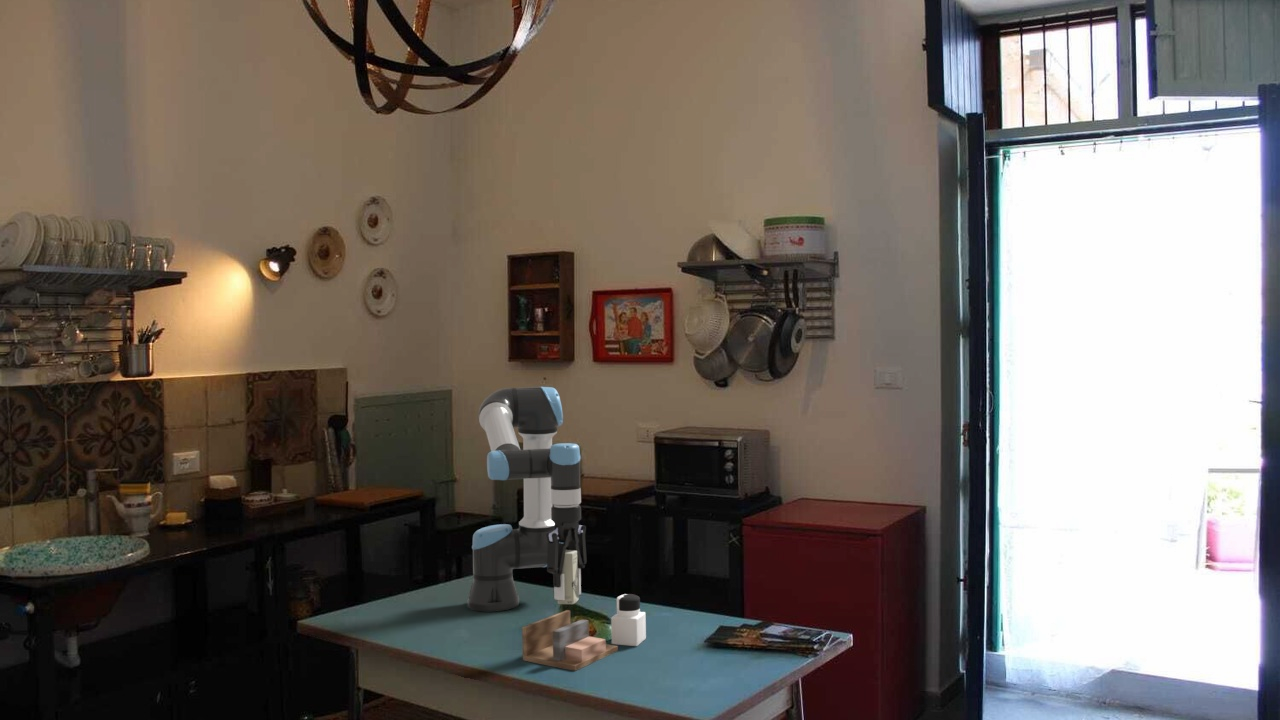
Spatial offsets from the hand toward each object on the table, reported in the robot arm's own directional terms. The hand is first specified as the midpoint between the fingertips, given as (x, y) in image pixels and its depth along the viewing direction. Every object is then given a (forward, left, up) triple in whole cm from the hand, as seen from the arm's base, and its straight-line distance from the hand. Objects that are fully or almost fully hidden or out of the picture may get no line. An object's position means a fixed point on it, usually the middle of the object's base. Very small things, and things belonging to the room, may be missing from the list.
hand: (567, 596), depth 258 cm
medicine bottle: (-14, +9, -14) cm, 22 cm away
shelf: (+3, +3, -14) cm, 14 cm away
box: (0, 0, -2) cm, 2 cm away
